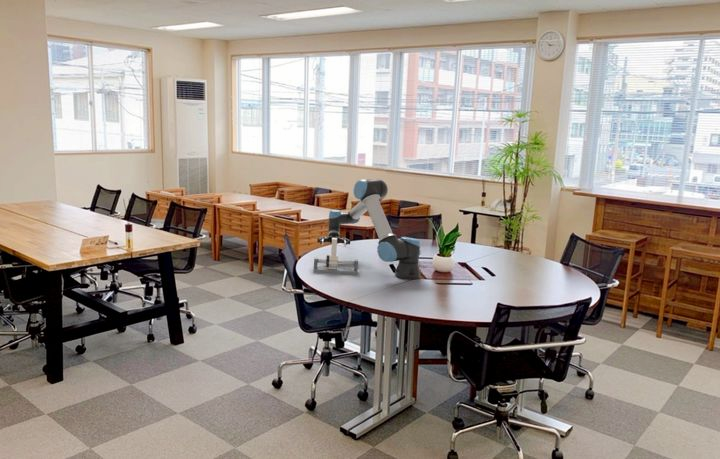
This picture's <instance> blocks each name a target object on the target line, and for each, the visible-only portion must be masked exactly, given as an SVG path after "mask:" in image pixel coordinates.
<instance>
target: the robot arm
mask: <svg viewBox="0 0 720 459" xmlns="http://www.w3.org/2000/svg"><path fill="white" fill-rule="evenodd" d="M387 194H388V185H387V184H386V182H385V181H384V180H382V179H379V178H378V179H359V180H357V181H356V182H355V184H354V186H353V196H354V197H355V198H356V199H357V200H360V201H359V202H358V203H356V205H355V206H353V207H352V208H351V209H350V210H349V211H348V212H341V210H338V209H331V210H330V211H329V213H328V214H329V215H328V227H327V228H328V230H327V236H326V235H323V236H321V237H320V236H319V237H317V241H316V242H317V243H319V244H320V245H321V246H324V243H330V244H332V238H337V244H338V243H341V244H343V245H344V246H343V247H345V248H346V247H347V245H350V244H351V240H350V239H348V238H346V237H345V236H343V237H342V238H341V237H340V235H341V234H340V232H341V225H351V224H352V225H353V224H358V223H359V222H360V219H361V216H363V215H364V214H365V213H367V212H368V214H369V217H370V220H371V222H372V225H373V227H374V229H375V232H376V234H377V237H378V239H379V240H378V242H377V243H378V245H377V255H378V257H379V258H380V260H382V261H384V262H387V263H392V262H393V263H394V262H398V264H397V266H396V269H395V272H394V276H395V277H397V278H399V279H402V280H403V279H404V280H418V279H420V278H421V270H420V266H419V261H420V260H419V259H420V255H419V253H420V252H421V250H420V249H421V241H420V240H419V239H418V238H413V237H407V236H401V237H400V238H398V236H397V235H396V234H394V233H393V230H392V228H391V226H390V223H389V221H388V218H387V216H386V214H385V211H384V209H383V207H382V205H381V201H382V200H384V199H385V198H386V196H387ZM419 251H420V252H419Z"/></svg>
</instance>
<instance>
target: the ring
mask: <svg viewBox="0 0 720 459" xmlns="http://www.w3.org/2000/svg"><path fill="white" fill-rule="evenodd" d="M326 259H327V260H326V263H325V266H326V267H329V254H327V255H326Z"/></svg>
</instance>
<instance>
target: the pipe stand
mask: <svg viewBox="0 0 720 459" xmlns="http://www.w3.org/2000/svg"><path fill="white" fill-rule="evenodd" d="M326 260H327V258H326V259H325V258H319V257H314V259H313V271H312V272H313V274H315V273H317V274H332V275H333V274H335V275H336V274H337V275H351V274H352V275H353V276H355V275H356V276H358V275H359V274H358V272H359V271H358V269H359V259H354V260H347V259H338V264H337V265H351V266H353V265H354V266H353V267H342V266H341V267H339V266H337V268H329V267H326V265H325V266H324V265H322V266H321V265H319V264H326Z"/></svg>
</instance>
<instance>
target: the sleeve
mask: <svg viewBox="0 0 720 459" xmlns="http://www.w3.org/2000/svg"><path fill="white" fill-rule="evenodd" d="M337 247H338V243H337V238H332V243H331V251H330V253H331V254H330V255H329V254H328V255H329V268H337V267H338V265H339V264H338V260H339V258H338V257H339V255H337V251H338V250H337Z"/></svg>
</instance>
